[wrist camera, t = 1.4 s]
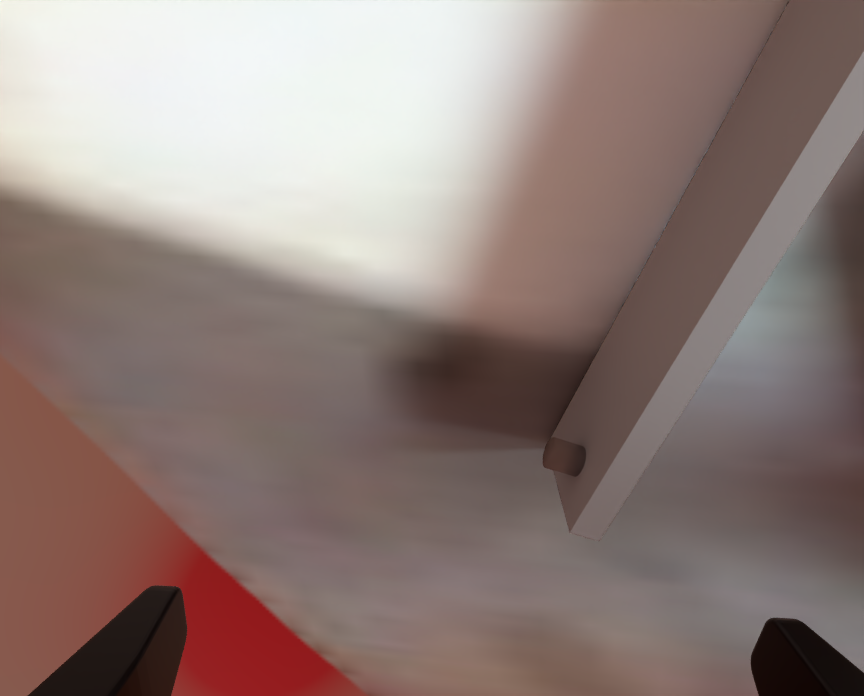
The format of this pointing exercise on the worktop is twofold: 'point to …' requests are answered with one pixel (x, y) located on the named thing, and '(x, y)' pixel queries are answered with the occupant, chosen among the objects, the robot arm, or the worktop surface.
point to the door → (714, 255)
